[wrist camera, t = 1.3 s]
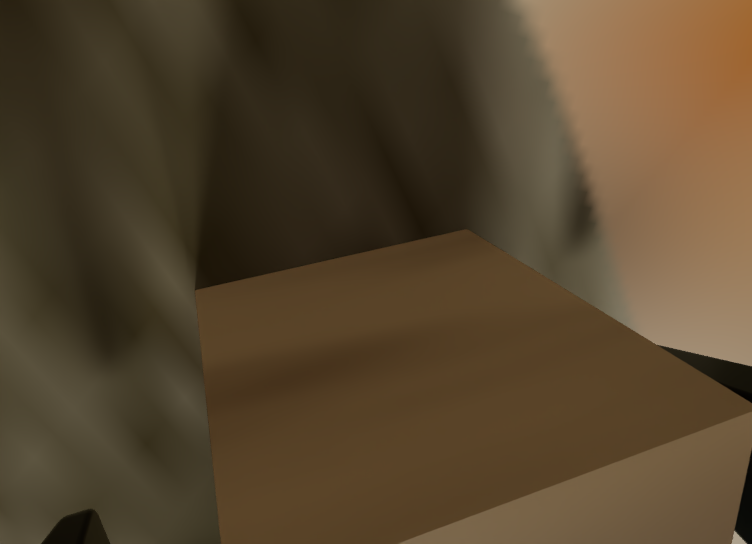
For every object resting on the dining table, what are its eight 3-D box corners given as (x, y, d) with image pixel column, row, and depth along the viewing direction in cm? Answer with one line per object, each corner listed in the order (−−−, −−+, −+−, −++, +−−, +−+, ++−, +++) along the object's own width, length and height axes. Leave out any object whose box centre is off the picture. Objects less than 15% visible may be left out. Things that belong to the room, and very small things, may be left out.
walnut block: (474, 436, 13) (694, 717, 7) (253, 511, 11) (324, 916, 6) (465, 228, 11) (760, 408, 5) (194, 288, 9) (226, 607, 4)
